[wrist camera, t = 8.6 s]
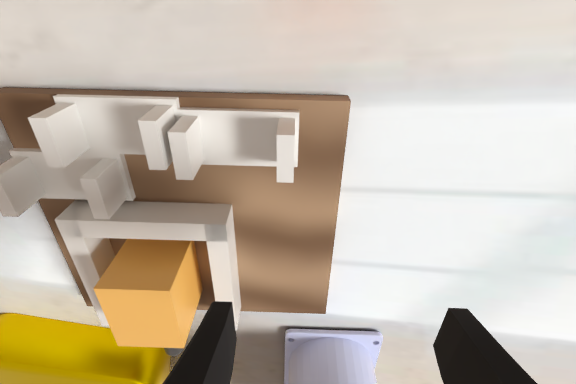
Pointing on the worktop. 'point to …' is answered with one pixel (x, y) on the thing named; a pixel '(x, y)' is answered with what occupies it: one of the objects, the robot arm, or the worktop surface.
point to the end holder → (152, 225)
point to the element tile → (73, 354)
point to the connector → (151, 293)
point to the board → (236, 195)
